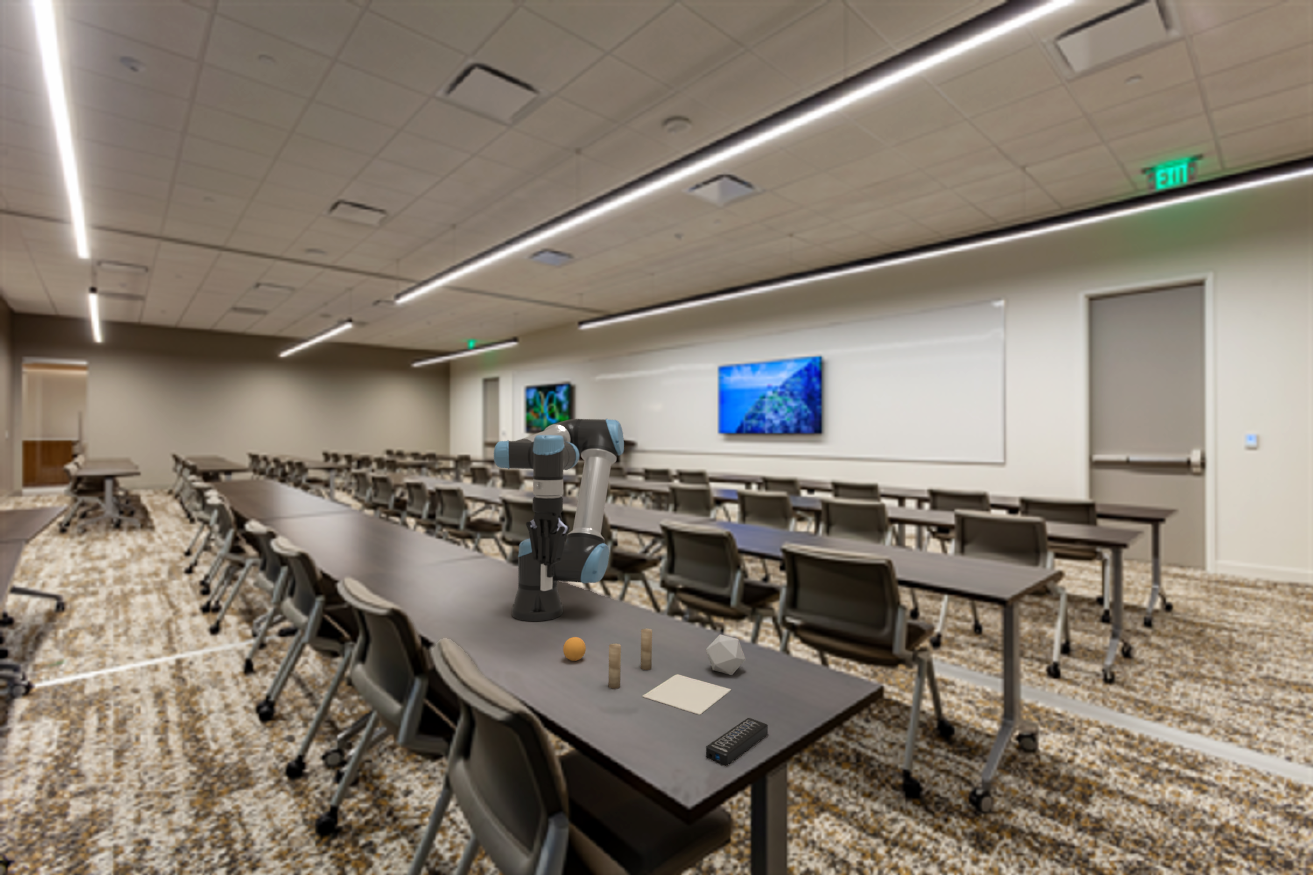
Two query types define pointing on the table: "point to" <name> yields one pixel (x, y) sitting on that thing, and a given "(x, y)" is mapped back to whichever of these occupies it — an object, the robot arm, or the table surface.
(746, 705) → the table surface
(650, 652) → the right post
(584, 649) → the ball
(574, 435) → the robot arm
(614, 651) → the left post
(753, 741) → the multiport hub
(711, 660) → the die
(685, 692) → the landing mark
